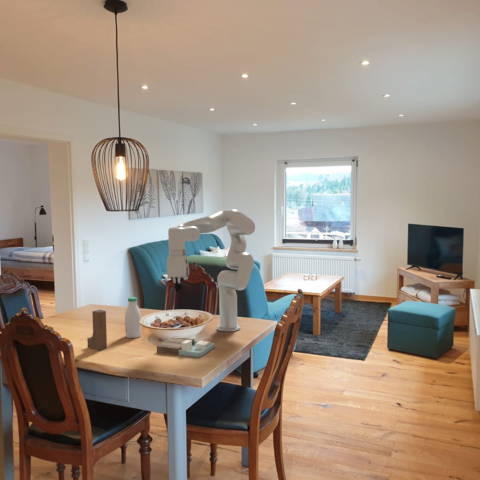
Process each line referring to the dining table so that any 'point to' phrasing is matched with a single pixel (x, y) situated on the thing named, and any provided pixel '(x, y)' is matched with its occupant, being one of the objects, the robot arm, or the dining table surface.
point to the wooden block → (98, 331)
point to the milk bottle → (132, 319)
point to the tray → (196, 351)
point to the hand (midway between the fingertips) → (178, 291)
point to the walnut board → (172, 346)
